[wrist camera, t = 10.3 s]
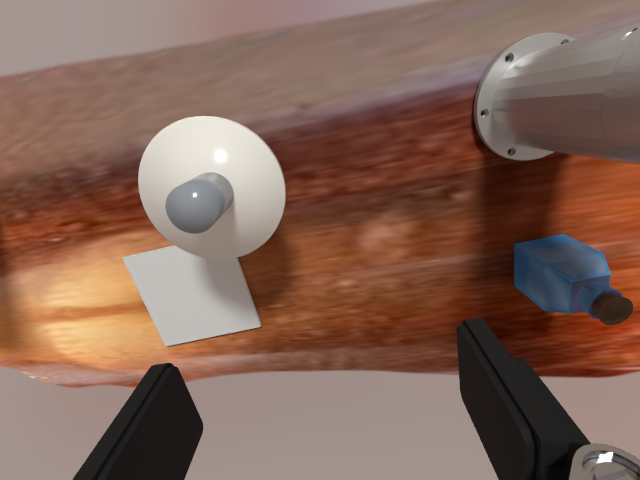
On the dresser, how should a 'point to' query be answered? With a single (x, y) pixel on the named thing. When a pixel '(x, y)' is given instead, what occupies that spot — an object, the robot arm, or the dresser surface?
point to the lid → (212, 187)
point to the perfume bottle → (568, 278)
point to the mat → (192, 294)
